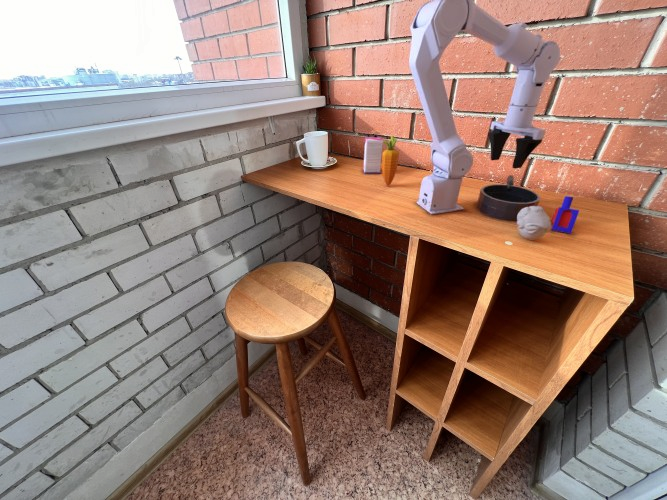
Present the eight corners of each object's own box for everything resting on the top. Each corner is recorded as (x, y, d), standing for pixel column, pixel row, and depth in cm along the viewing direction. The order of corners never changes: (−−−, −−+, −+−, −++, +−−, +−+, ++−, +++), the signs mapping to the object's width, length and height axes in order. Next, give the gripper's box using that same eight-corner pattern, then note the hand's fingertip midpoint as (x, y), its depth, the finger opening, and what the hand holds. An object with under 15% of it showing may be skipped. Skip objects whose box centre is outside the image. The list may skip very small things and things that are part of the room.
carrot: (388, 190, 88) (393, 139, 80) (376, 186, 91) (379, 136, 83) (398, 186, 91) (404, 136, 82) (386, 182, 94) (390, 134, 86)
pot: (502, 224, 67) (508, 206, 65) (465, 203, 78) (469, 187, 76) (546, 216, 70) (553, 199, 68) (505, 197, 81) (510, 182, 79)
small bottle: (566, 233, 66) (578, 200, 65) (570, 233, 62) (584, 197, 61) (548, 230, 68) (559, 197, 66) (551, 229, 64) (563, 194, 63)
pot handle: (511, 191, 76) (513, 186, 75) (505, 190, 77) (507, 185, 76) (512, 180, 84) (514, 174, 83) (506, 179, 85) (508, 174, 84)
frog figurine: (529, 229, 65) (540, 200, 61) (552, 244, 59) (566, 214, 56) (504, 231, 65) (514, 202, 61) (525, 247, 59) (537, 216, 55)
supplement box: (380, 173, 101) (383, 140, 95) (364, 174, 102) (365, 140, 95) (378, 169, 106) (381, 136, 100) (363, 169, 107) (364, 137, 100)
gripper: (565, 107, 61) (541, 170, 68) (513, 101, 73) (497, 155, 80) (538, 109, 60) (517, 172, 67) (490, 102, 72) (476, 157, 79)
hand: (505, 163), depth 74 cm, fingers open, 7 cm apart
